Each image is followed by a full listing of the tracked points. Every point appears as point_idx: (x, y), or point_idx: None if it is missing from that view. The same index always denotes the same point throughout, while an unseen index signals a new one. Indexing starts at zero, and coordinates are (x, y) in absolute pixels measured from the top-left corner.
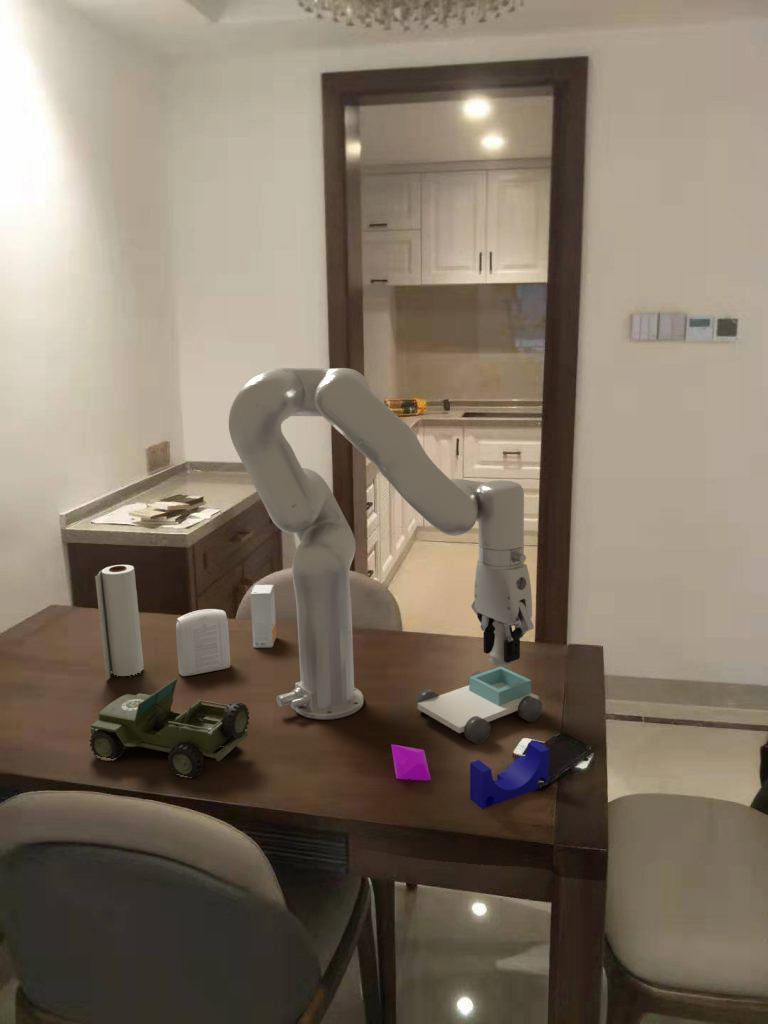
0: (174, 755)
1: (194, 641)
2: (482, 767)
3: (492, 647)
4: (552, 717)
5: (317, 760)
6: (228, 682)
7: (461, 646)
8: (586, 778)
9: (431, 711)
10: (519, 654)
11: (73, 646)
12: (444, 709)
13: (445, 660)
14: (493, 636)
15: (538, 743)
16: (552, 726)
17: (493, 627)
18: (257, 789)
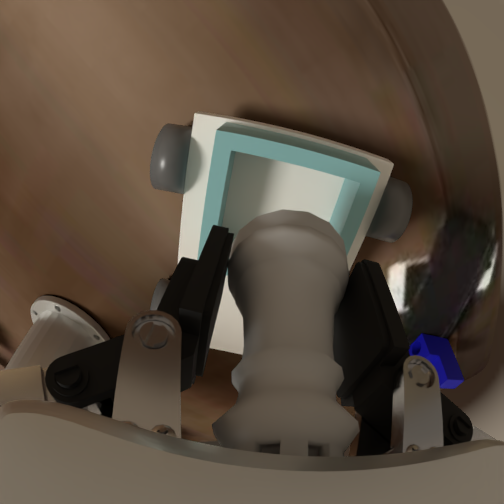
0: None
1: None
2: None
3: (239, 310)
4: (414, 155)
5: (186, 408)
6: (2, 331)
7: (12, 12)
8: (488, 303)
9: (218, 349)
10: (380, 272)
11: None
12: (231, 335)
13: (24, 81)
14: (212, 323)
15: (451, 380)
16: (427, 195)
17: (193, 363)
18: (194, 434)
